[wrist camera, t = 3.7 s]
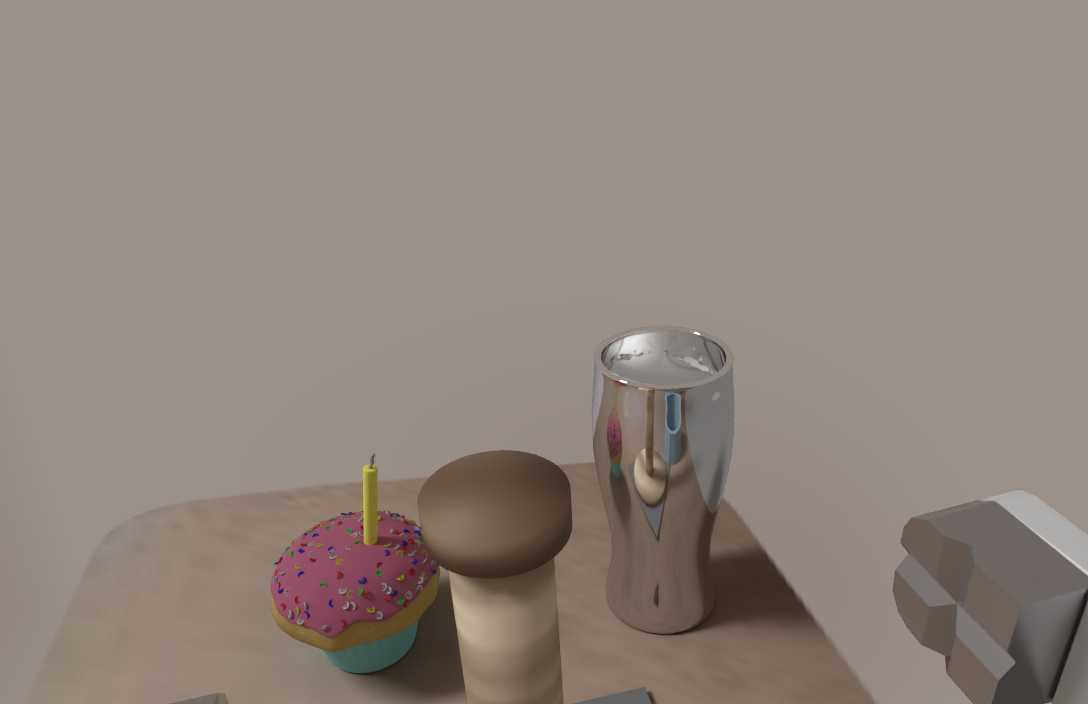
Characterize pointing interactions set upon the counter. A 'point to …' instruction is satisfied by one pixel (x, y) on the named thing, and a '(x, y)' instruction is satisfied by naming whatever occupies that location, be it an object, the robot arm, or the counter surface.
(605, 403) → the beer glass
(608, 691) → the counter surface
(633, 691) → the mat
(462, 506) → the brown piece
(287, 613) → the cupcake
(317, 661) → the counter surface
